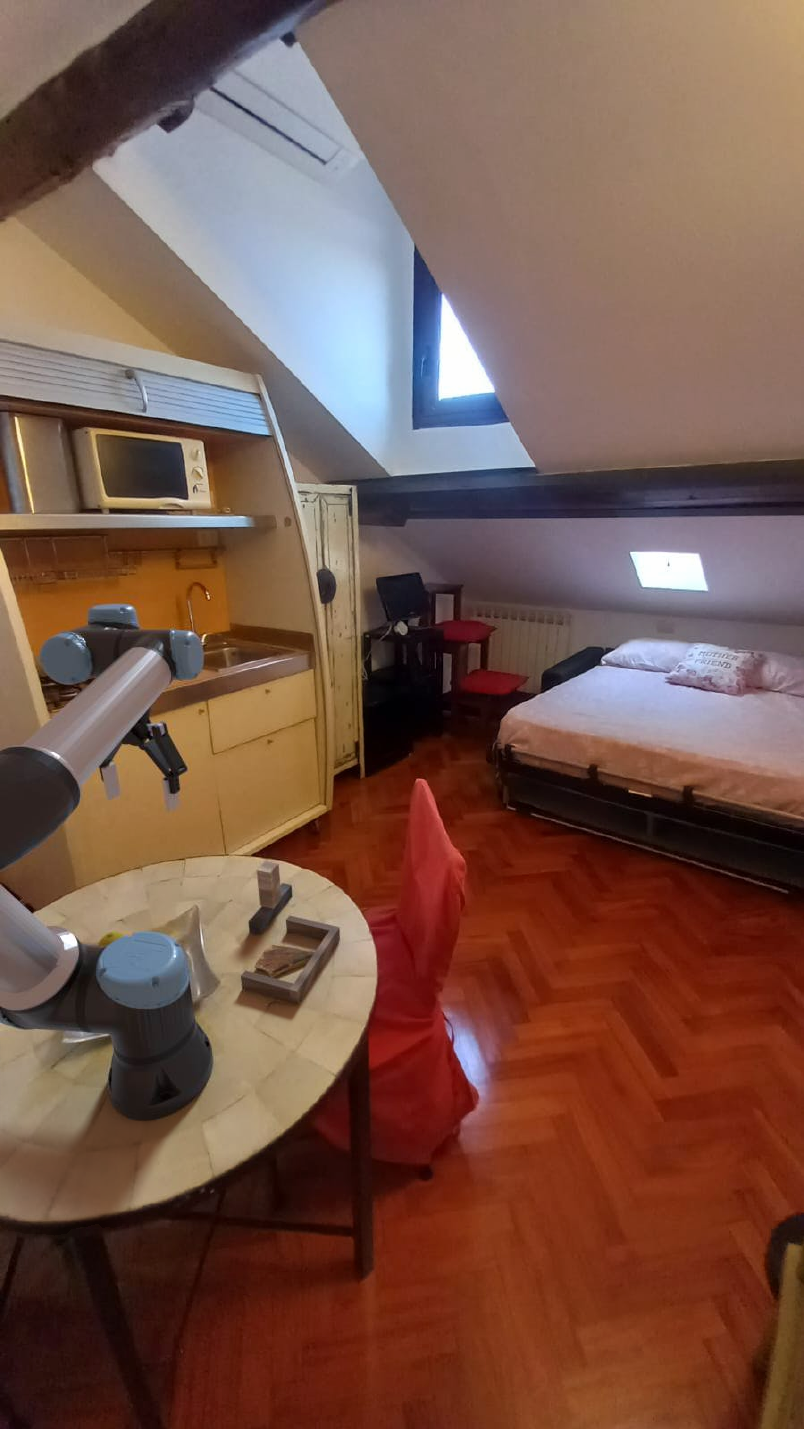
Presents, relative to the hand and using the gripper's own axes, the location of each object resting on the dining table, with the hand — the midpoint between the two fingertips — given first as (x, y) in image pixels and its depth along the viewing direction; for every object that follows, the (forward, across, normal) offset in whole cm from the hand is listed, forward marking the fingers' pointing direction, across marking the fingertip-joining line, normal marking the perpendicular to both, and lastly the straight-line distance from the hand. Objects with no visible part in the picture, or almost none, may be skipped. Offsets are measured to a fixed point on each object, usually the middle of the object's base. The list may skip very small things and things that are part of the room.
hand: (143, 802), depth 111 cm
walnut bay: (+32, -28, -3) cm, 42 cm away
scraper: (+32, -16, -15) cm, 39 cm away
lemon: (+32, +4, +9) cm, 33 cm away
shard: (+32, -25, -4) cm, 41 cm away
